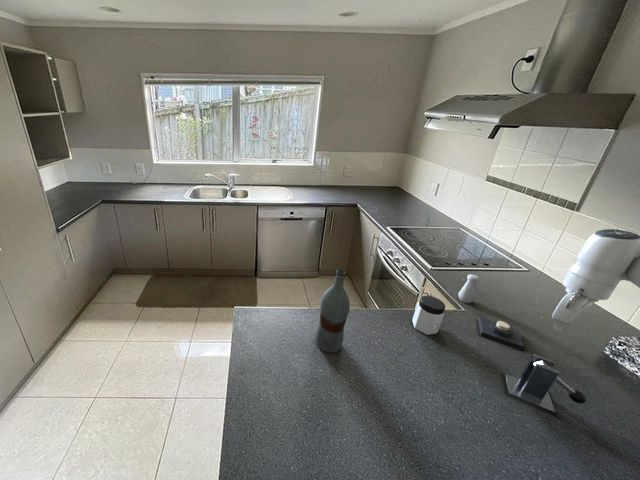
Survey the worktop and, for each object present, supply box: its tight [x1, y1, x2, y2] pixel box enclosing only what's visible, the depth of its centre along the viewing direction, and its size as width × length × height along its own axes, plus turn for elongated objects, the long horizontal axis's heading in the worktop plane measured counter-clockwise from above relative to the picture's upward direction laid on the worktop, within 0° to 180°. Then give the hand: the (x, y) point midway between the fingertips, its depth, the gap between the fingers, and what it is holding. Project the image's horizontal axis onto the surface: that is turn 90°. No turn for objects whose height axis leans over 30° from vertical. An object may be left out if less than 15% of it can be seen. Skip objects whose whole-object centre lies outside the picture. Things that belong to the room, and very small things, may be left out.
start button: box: [496, 320, 511, 331], centre depth 104 cm, size 4×4×2 cm
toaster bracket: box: [504, 353, 560, 414], centre depth 81 cm, size 10×8×13 cm
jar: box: [411, 295, 446, 336], centre depth 106 cm, size 9×8×12 cm
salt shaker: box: [458, 274, 481, 304], centre depth 122 cm, size 6×6×13 cm
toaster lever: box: [533, 360, 587, 404], centre depth 78 cm, size 13×3×3 cm
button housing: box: [477, 316, 525, 351], centre depth 105 cm, size 12×10×4 cm
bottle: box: [315, 268, 351, 354], centre depth 92 cm, size 9×9×30 cm
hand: (563, 324), depth 82 cm, fingers open, 8 cm apart
